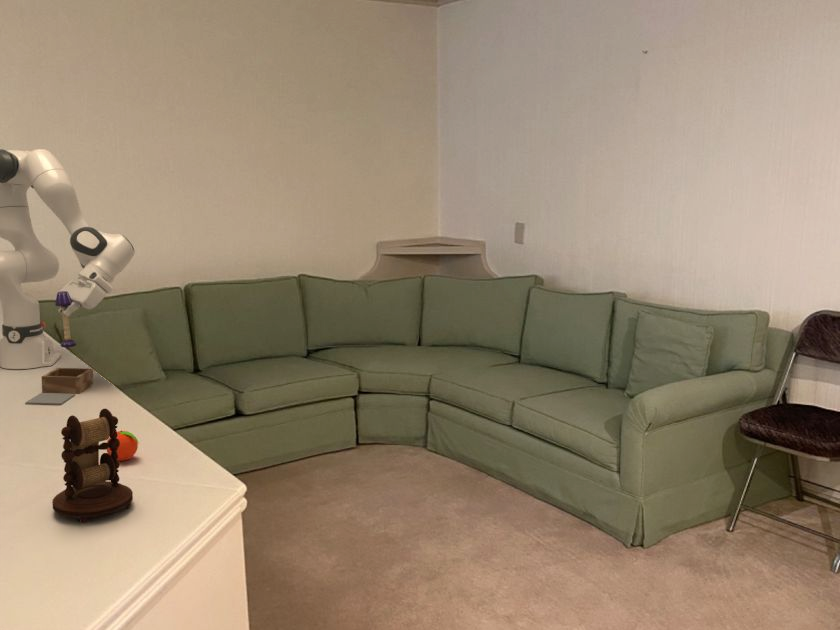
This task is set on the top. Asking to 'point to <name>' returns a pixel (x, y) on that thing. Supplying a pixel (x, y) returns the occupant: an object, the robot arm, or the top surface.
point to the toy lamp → (65, 317)
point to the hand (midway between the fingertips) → (62, 314)
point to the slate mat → (50, 399)
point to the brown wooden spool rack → (91, 469)
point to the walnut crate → (67, 380)
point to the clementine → (125, 445)
